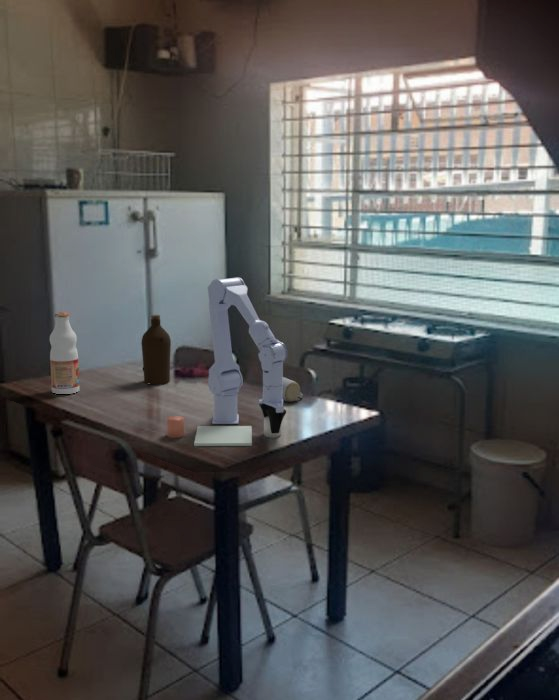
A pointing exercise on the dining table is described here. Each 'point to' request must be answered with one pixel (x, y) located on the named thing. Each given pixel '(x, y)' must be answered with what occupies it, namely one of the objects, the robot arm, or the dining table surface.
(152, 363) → the olive oil
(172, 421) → the pink rounded piece
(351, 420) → the dining table surface
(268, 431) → the off-white rounded cylinder
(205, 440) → the baseplate
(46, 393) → the dining table surface
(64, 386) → the fruit juice
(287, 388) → the ceramic mug
